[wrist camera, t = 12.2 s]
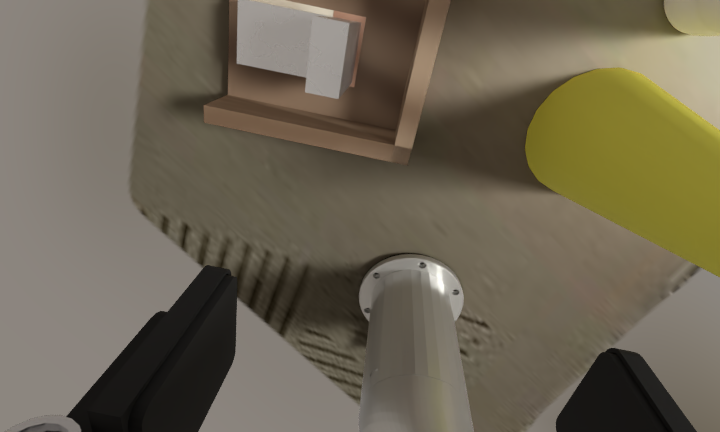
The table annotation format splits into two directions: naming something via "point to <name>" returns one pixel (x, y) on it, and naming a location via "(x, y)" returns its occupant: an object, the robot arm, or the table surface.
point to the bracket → (298, 45)
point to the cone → (632, 160)
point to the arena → (361, 99)
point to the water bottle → (694, 16)
